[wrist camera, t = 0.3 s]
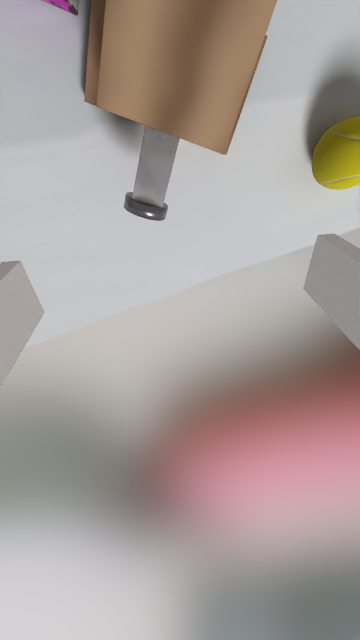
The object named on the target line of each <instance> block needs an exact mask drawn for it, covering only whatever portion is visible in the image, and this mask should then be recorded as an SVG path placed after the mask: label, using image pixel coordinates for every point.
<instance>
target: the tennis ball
mask: <svg viewBox="0 0 360 640" xmlns="http://www.w3.org/2000/svg"><path fill="white" fill-rule="evenodd" d="M312 172H313V175H314V177H315V179H316V181H317V182H318V183H319V184H321V185H322V186H324V187H326V188H330V189H338V190H339V189H347V188H350V187H353V186H356V185H358V184H360V117H352V118H348V119H345V120H342V121H340V122H338V123H336V124H335V125H333V126H332V127H330V128H329V129H328V130H327V131H326V132H325V133H324V134H323V135H322V136H321V138H320V139H319V141H318V143H317V145H316V147H315V150H314V153H313V157H312Z"/></svg>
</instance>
